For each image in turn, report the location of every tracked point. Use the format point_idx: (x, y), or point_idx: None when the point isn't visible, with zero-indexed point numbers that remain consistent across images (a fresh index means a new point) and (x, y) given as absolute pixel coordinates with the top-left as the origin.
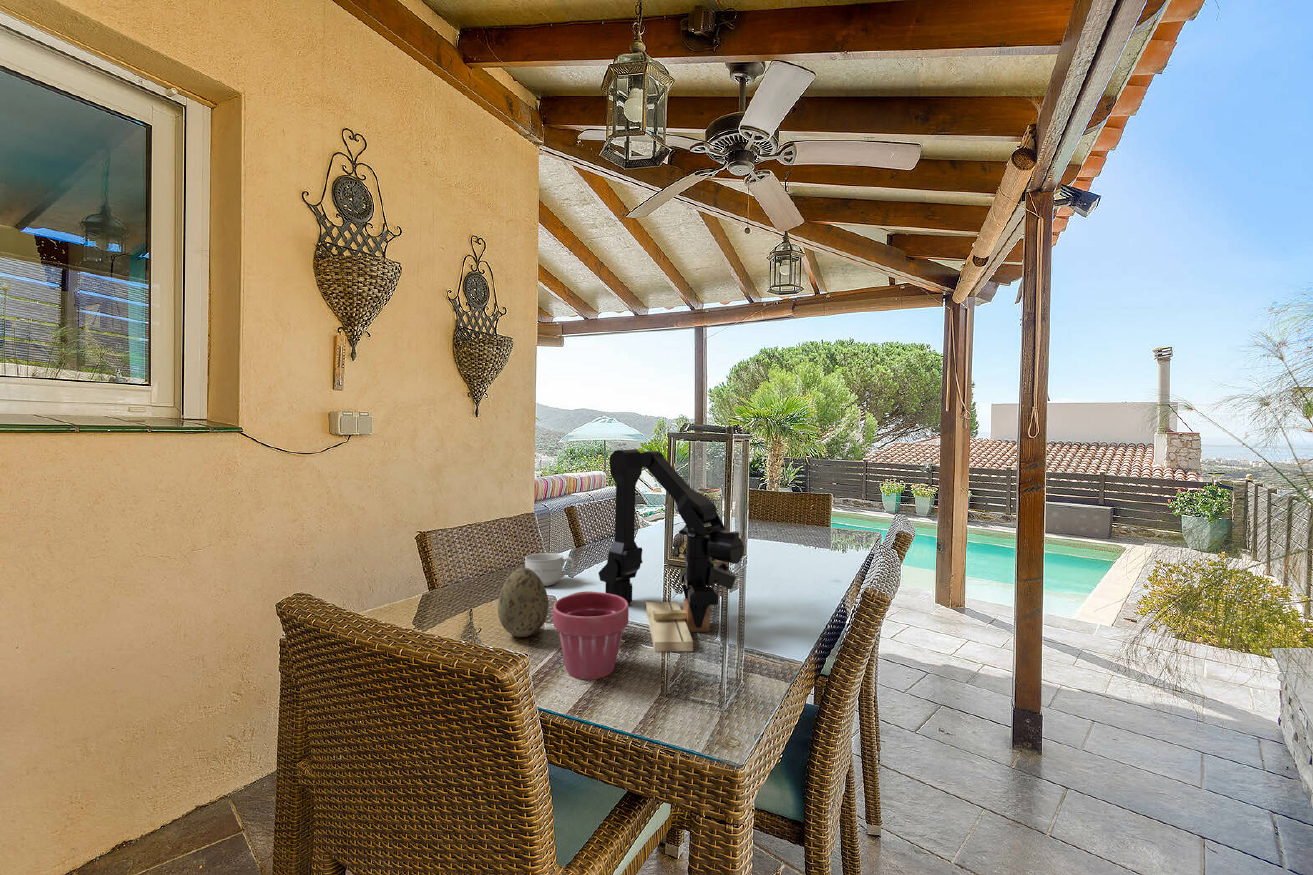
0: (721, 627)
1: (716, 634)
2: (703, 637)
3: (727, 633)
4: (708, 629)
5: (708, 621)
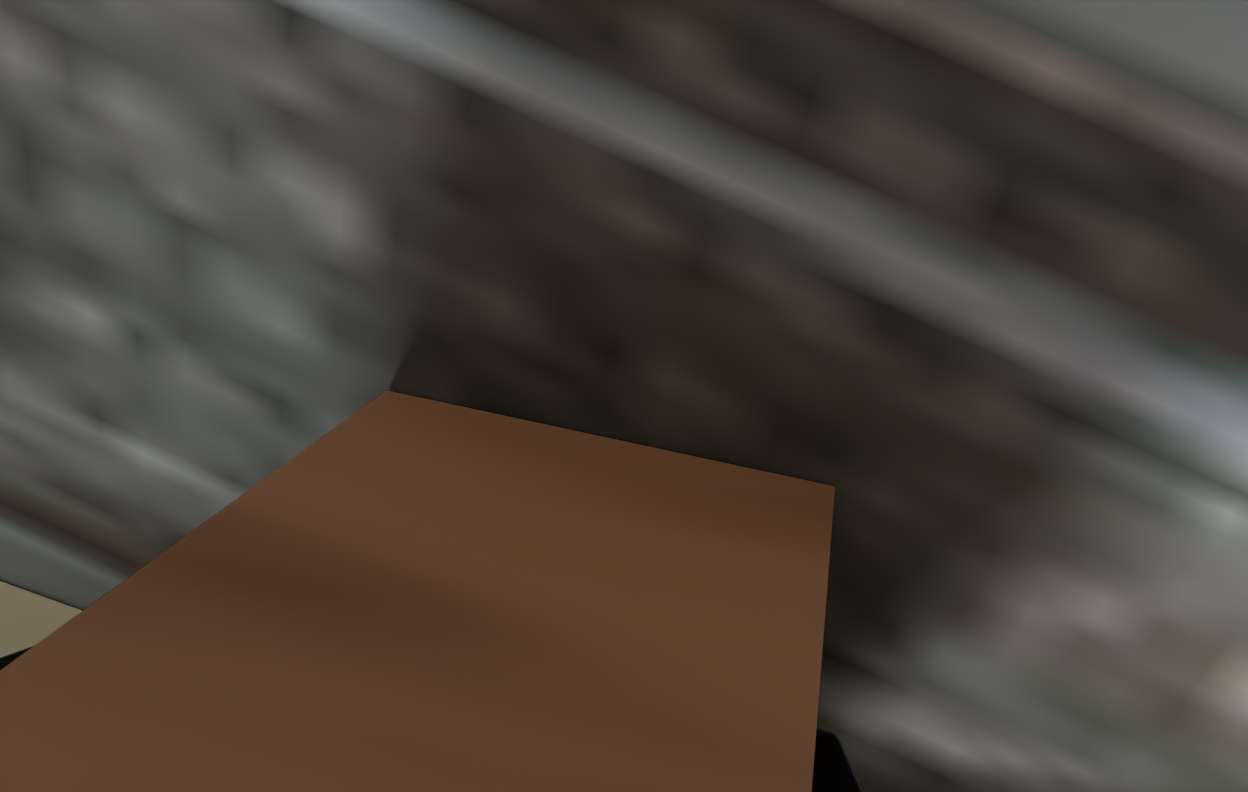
0: (682, 99)
1: (1075, 416)
2: (1111, 728)
3: (1141, 109)
4: (827, 519)
5: (817, 646)
